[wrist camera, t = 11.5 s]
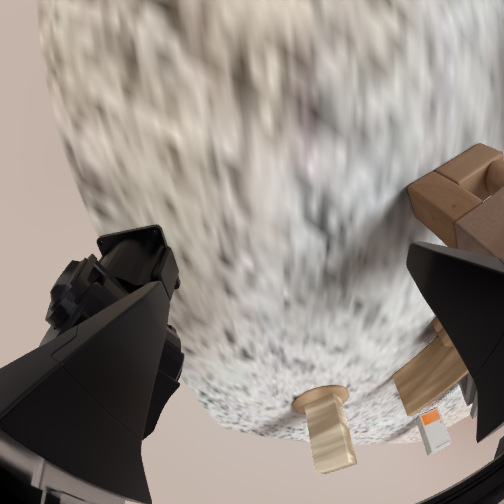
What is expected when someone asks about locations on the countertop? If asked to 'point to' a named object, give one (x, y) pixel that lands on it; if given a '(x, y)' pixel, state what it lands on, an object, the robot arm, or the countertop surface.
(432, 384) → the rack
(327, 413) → the pale wood block
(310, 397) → the coaster
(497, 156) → the wooden block
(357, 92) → the countertop surface
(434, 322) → the offcut lower
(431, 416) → the skincare box
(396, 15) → the countertop surface
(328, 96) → the countertop surface
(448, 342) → the offcut upper
